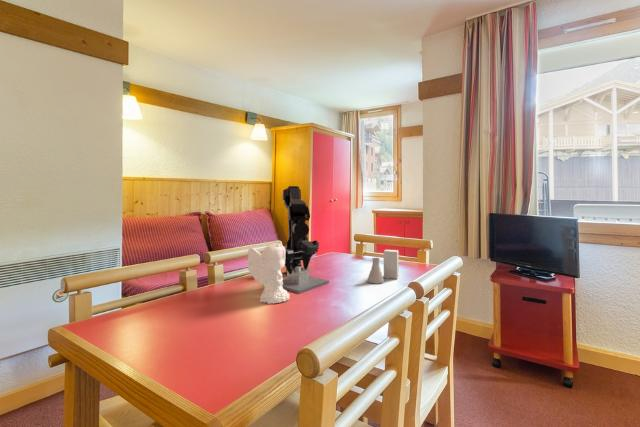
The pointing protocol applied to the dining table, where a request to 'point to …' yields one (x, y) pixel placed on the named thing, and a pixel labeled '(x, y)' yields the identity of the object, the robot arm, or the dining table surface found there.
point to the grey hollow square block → (298, 276)
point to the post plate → (305, 286)
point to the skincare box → (391, 264)
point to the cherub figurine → (269, 272)
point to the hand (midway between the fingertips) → (298, 271)
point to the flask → (375, 272)
